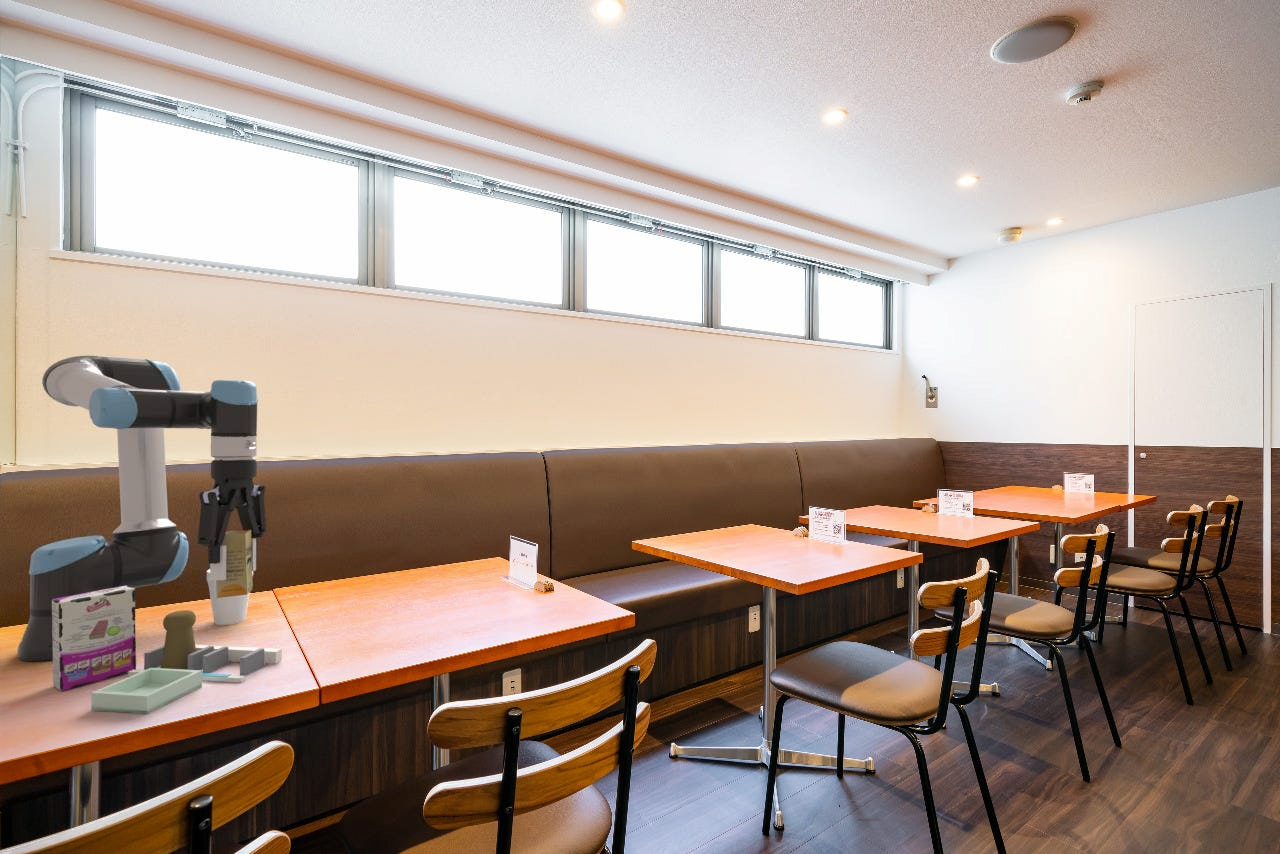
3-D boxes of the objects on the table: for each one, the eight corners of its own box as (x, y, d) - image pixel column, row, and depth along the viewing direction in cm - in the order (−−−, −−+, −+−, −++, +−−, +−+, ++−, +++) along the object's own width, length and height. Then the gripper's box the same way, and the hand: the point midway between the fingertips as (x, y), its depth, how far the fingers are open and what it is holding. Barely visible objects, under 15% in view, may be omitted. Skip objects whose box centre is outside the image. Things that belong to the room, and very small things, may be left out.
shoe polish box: (252, 588, 120) (251, 529, 120) (246, 594, 116) (245, 533, 116) (223, 591, 118) (222, 531, 118) (216, 597, 114) (215, 535, 114)
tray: (91, 710, 100) (91, 692, 100) (150, 683, 110) (150, 667, 110) (147, 714, 99) (147, 696, 99) (201, 686, 109) (201, 670, 109)
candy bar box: (127, 666, 119) (127, 584, 119) (136, 671, 116) (137, 587, 116) (50, 686, 109) (50, 597, 109) (59, 693, 107) (59, 602, 107)
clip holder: (127, 675, 114) (128, 657, 114) (177, 655, 124) (177, 638, 124) (241, 682, 111) (241, 663, 111) (281, 660, 121) (281, 643, 121)
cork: (182, 673, 115) (182, 616, 115) (151, 673, 115) (152, 616, 115) (205, 661, 121) (205, 607, 121) (176, 660, 121) (176, 607, 121)
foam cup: (235, 627, 142) (235, 573, 142) (197, 627, 142) (197, 573, 142) (261, 614, 151) (261, 564, 151) (225, 614, 152) (225, 564, 152)
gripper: (209, 461, 107) (208, 589, 107) (287, 456, 126) (286, 564, 126) (172, 461, 108) (171, 587, 108) (255, 456, 127) (254, 563, 127)
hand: (233, 574), depth 117 cm, fingers closed on shoe polish box, 7 cm apart
